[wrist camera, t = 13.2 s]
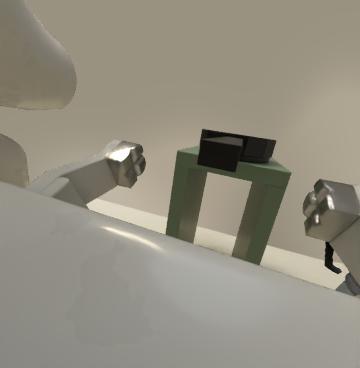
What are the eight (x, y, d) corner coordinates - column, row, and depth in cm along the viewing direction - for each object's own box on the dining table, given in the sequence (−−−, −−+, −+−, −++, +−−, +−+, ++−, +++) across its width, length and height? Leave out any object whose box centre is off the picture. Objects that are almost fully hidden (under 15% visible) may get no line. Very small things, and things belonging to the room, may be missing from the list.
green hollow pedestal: (236, 331, 29) (291, 172, 21) (156, 296, 32) (177, 150, 24) (239, 259, 45) (270, 156, 37) (185, 241, 49) (203, 144, 41)
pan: (334, 233, 7) (370, 155, 6) (117, 177, 10) (119, 116, 9) (264, 158, 31) (270, 139, 30) (206, 147, 34) (209, 130, 33)
